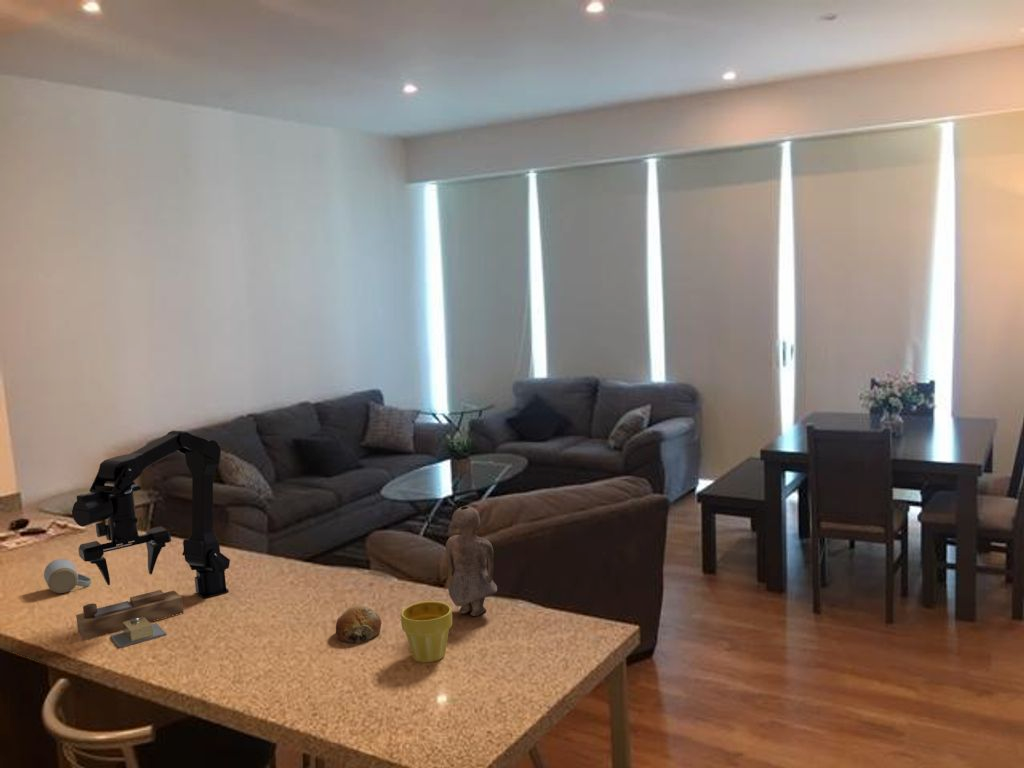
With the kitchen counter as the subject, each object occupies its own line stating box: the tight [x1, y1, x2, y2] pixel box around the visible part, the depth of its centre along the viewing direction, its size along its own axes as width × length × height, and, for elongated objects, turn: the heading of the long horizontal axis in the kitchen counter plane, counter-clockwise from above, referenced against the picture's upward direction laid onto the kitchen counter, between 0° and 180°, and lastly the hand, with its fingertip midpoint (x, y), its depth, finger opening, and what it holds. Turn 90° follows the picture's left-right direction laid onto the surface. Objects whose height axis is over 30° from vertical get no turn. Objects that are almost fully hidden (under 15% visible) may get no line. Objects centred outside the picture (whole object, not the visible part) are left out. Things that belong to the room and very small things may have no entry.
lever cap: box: [122, 617, 153, 642], centre depth 194 cm, size 7×5×3 cm, turn 38°
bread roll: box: [335, 605, 382, 644], centre depth 189 cm, size 10×10×8 cm
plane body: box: [75, 589, 184, 640], centre depth 202 cm, size 22×6×6 cm, turn 127°
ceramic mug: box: [43, 558, 92, 594], centre depth 228 cm, size 11×8×8 cm
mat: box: [110, 622, 167, 649], centre depth 194 cm, size 10×8×1 cm
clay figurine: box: [445, 505, 498, 617], centre depth 197 cm, size 13×10×25 cm
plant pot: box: [400, 600, 453, 663], centre depth 176 cm, size 10×10×10 cm
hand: (129, 579), depth 198 cm, fingers open, 9 cm apart
